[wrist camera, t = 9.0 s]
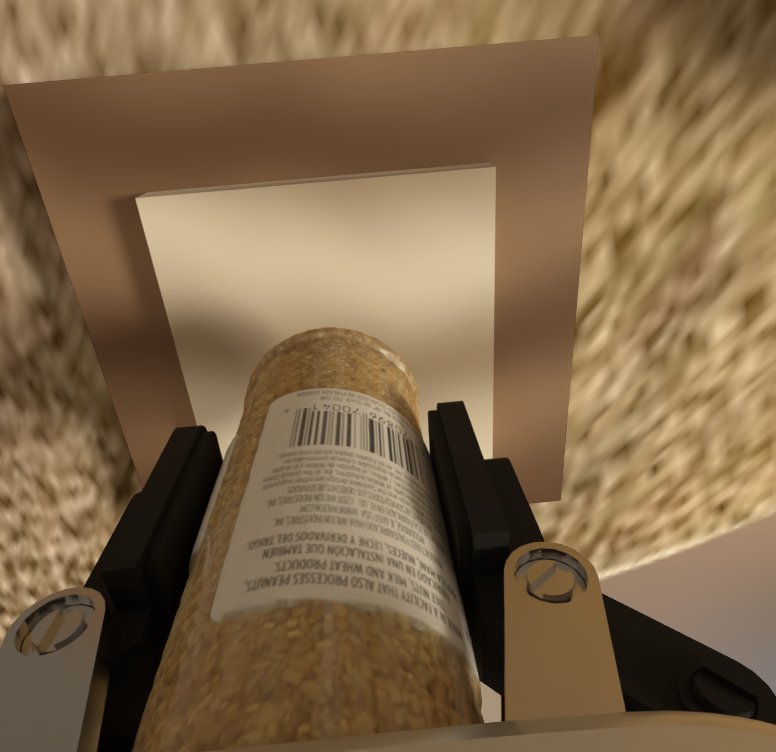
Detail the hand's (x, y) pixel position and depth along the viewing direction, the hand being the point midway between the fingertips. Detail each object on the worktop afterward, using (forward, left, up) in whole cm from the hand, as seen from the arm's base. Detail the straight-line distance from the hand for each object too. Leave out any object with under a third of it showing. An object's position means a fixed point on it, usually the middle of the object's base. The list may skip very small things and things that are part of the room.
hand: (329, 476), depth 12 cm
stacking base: (0, 0, -10) cm, 10 cm away
